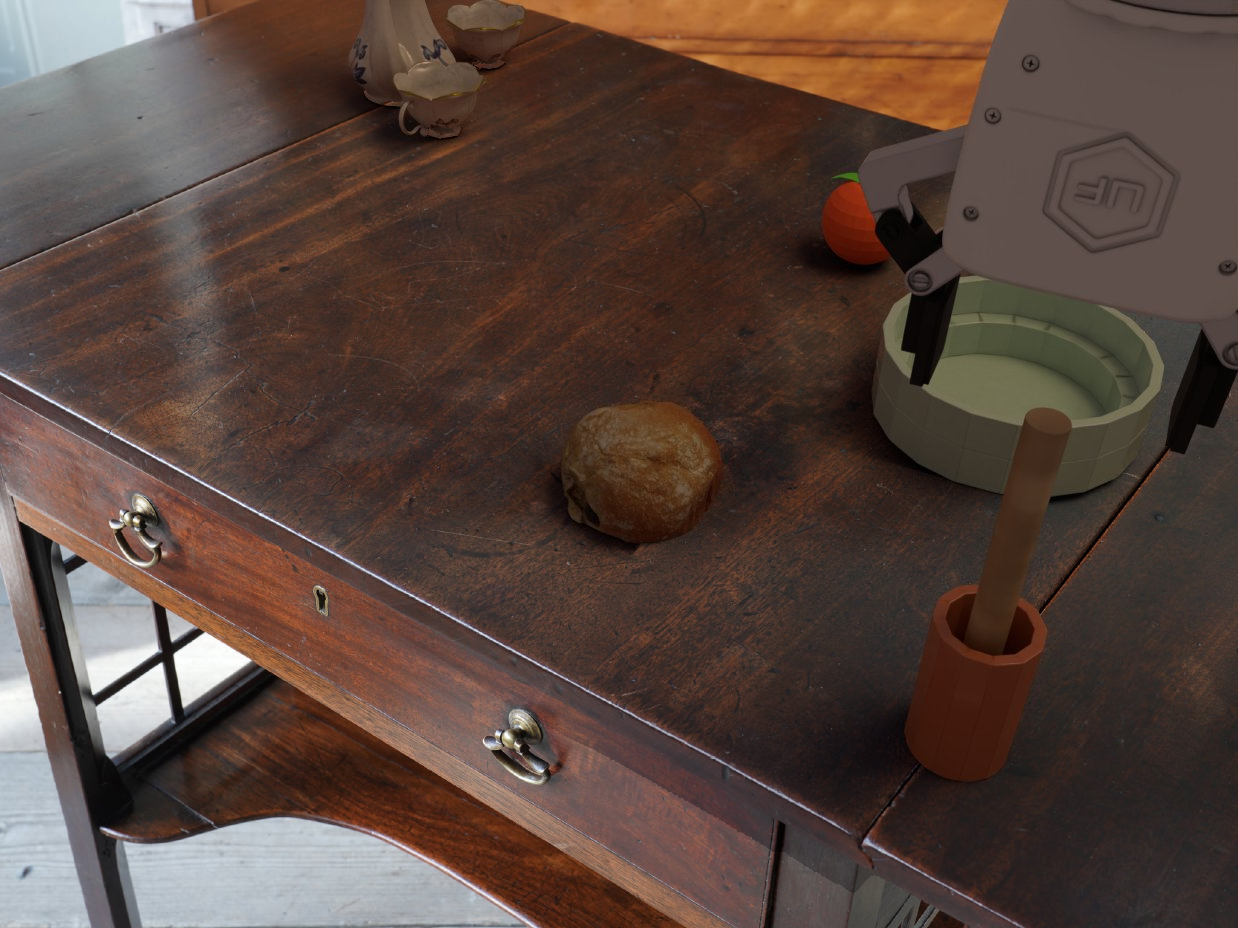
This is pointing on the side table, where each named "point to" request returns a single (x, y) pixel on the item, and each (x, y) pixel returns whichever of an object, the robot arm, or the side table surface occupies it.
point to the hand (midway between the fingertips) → (1047, 399)
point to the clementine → (851, 224)
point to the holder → (971, 690)
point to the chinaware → (430, 57)
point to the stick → (1017, 528)
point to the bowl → (1020, 385)
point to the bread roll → (641, 471)
